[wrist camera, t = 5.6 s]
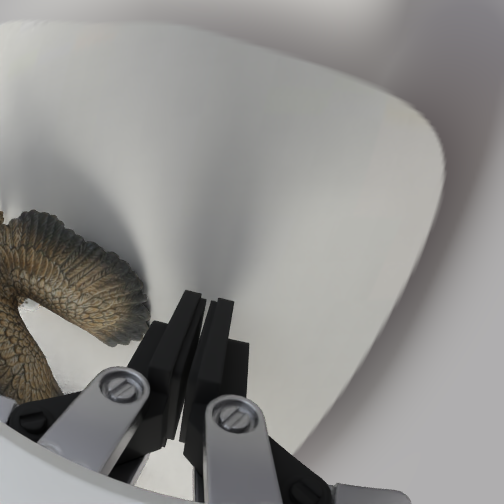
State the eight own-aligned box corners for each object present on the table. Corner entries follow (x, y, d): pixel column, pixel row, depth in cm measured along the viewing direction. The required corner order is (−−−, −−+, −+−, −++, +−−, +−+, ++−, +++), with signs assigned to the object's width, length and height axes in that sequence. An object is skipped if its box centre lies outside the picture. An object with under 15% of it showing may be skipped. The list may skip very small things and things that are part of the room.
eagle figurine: (-24, 308, 10) (89, 432, 10) (-119, 285, 3) (8, 499, 3) (47, 193, 12) (178, 303, 12) (-26, 111, 6) (143, 271, 5)
